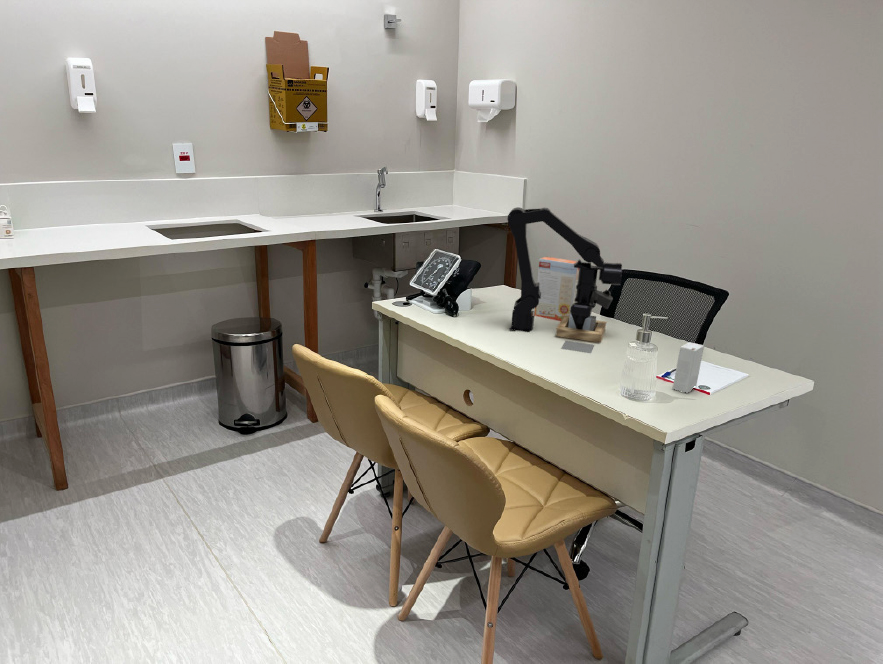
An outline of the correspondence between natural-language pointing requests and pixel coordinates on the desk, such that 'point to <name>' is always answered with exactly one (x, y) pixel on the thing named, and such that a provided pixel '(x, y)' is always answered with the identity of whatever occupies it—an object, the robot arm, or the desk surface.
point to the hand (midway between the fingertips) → (581, 329)
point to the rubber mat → (578, 346)
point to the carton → (581, 331)
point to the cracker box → (556, 287)
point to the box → (588, 323)
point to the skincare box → (688, 367)
